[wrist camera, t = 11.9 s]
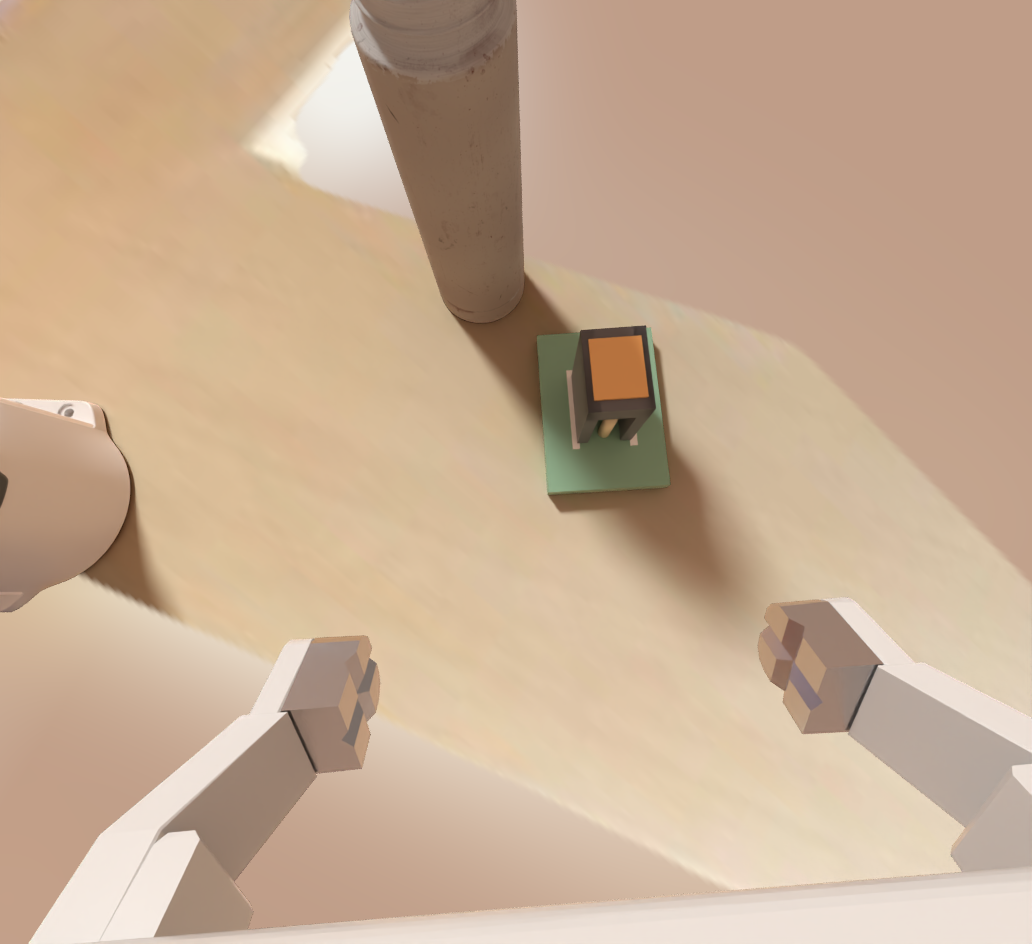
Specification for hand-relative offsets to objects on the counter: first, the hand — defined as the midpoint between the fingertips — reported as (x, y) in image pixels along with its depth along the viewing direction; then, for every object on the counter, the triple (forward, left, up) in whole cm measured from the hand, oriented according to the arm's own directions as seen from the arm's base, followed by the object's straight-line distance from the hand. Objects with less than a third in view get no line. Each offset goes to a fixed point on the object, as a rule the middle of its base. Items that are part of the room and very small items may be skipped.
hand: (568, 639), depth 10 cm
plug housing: (+2, +15, -28) cm, 32 cm away
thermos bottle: (-12, +25, -30) cm, 41 cm away
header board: (+2, +15, -29) cm, 33 cm away
